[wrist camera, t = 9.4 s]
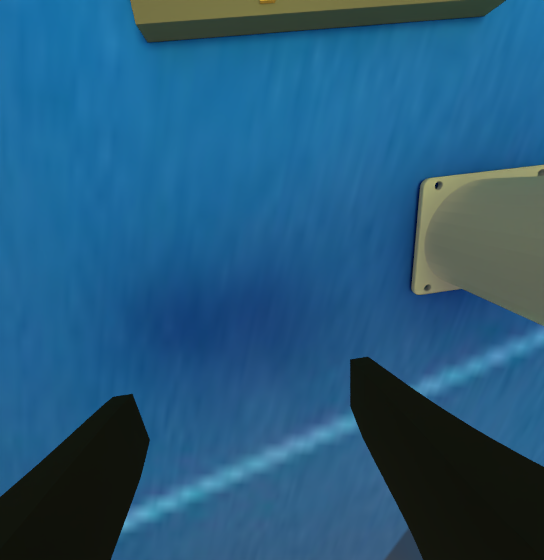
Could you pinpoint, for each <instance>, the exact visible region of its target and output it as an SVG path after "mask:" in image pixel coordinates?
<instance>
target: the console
mask: <svg viewBox="0 0 544 560" xmlns="http://www.w3.org/2000/svg"><path fill="white" fill-rule="evenodd" d="M130 1H131V5H132V10H133V14H134V18H135V23H136V25H137V27H138V28H139V30H140V31H141V33H142V34H143V36H144V38H145V39H146V41H147V42H159V41H172V40H185V39H198V38H211V37H223V36H236V35H249V34H262V33H275V32H287V31H300V30H313V29H326V28H339V27H351V26H364V25H377V24H390V23H403V22H416V21H428V20H441V19H454V18H467V17H480V16H485V15H486V14H488V13H489V12H491V11H492V10H493V9H495V8H496V7H498V6H499V5H500V4H502V3H503V2H504V1H506V0H130Z"/></svg>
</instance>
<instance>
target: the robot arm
mask: <svg viewBox="0 0 544 560" xmlns="http://www.w3.org/2000/svg"><path fill="white" fill-rule="evenodd" d="M538 172H539V174H538ZM437 182H438V188H437V189H435V184H436V183H437ZM426 285H427V287H426V288H425V289H424V287H425V286H426ZM411 289H412V291H413V292H414V293H415V294H417V295H422V294H429V293H436V292H443V291H450V290H457V289H464V290H466V291H468V292H470V293H472V294H475V295H477V296H479V297H481V298H483V299H486V300H488V301H490V302H492V303H494V304H497V305H499V306H501V307H503V308H505V309H507V310H510V311H512V312H514V313H516V314H518V315H521V316H523V317H525V318H527V319H529V320H532V321H534V322H536V323H538V324H540V325H543V326H544V165H538V166H529V167H520V168H512V169H503V170H495V171H486V172H477V173H469V174H460V175H452V176H443V177H435V178H428V179H425V180H424V181H423V182H422V183H421V186H420V195H419V207H418V218H417V229H416V241H415V252H414V264H413V275H412V287H411ZM350 406H351V409H352V411H353V414H354V417H355V419H356V422H357V425H358V427H359V430H360V432H361V435H362V437H363V439H364V441H365V443H366V445H367V447H368V449H369V451H370V453H371V455H372V457H373V459H374V461H375V463H376V465H377V467H378V468H379V470H380V472H381V474H382V476H383V478H384V480H385V482H386V484H387V486H388V488H389V490H390V492H391V494H392V495H393V497H394V499H395V501H396V503H397V505H398V507H399V509H400V511H401V513H402V515H403V517H404V519H405V521H406V523H407V525H408V527H409V529H410V531H411V533H412V535H413V537H414V540H415V542H416V544H417V546H418V549H419V551H420V553H421V556H422V558H423V560H544V467H543V466H541V465H539V464H537V463H535V462H533V461H531V460H530V459H528V458H526V457H524V456H522V455H520V454H519V453H517V452H515V451H513V450H511V449H510V448H508V447H506V446H504V445H502V444H501V443H499V442H497V441H495V440H493V439H492V438H490V437H488V436H486V435H485V434H483V433H481V432H480V431H478V430H476V429H475V428H473V427H471V426H470V425H468V424H466V423H465V422H463V421H462V420H460V419H458V418H457V417H455V416H453V415H452V414H450V413H449V412H447V411H446V410H444V409H442V408H441V407H439V406H438V405H436V404H435V403H433V402H432V401H430V400H429V399H427V398H426V397H424V396H423V395H421V394H420V393H418V392H417V391H415V390H414V389H413V388H411V387H410V386H408V385H407V384H405V383H404V382H403V381H401V380H400V379H398V378H397V377H396V376H394V375H393V374H391V373H390V372H389V371H387V370H386V369H384V368H383V367H382V366H380V365H379V364H378V363H376V362H375V361H373V360H372V359H370V358H369V357H363V358H357V359H350ZM149 441H150V439H149V437H148V434H147V431H146V429H145V426H144V423H143V421H142V418H141V415H140V413H139V410H138V407H137V405H136V402H135V399H134V397H133V394H129V395H122V396H116V397H112V398H111V399H110V400H109V401H108V402H106V403H105V404H104V405H103V406H102V407H101V408H99V409H98V410H97V411H96V412H95V413H94V414H93V415H92V416H91V417H89V418H88V419H87V420H86V421H85V422H84V423H83V424H82V425H81V426H80V427H79V428H77V429H76V430H75V431H74V432H73V433H72V434H71V435H70V436H69V437H68V438H67V439H65V440H64V441H63V442H62V443H61V444H60V445H59V446H58V447H57V448H56V449H54V450H53V451H52V452H51V453H50V454H49V455H48V456H47V457H46V458H44V459H43V460H42V461H41V462H40V463H39V464H38V465H37V466H36V467H34V468H33V469H32V470H31V471H30V472H29V473H27V474H26V475H25V476H24V477H23V478H22V479H21V480H19V481H18V482H17V483H16V484H15V485H14V486H12V487H11V488H10V489H9V490H8V491H7V492H5V493H4V494H3V495H2V496H1V497H0V560H111V557H112V554H113V552H114V549H115V546H116V544H117V541H118V538H119V535H120V533H121V530H122V527H123V525H124V522H125V519H126V516H127V514H128V511H129V508H130V505H131V503H132V500H133V497H134V494H135V492H136V489H137V486H138V483H139V480H140V477H141V474H142V470H143V466H144V462H145V458H146V454H147V450H148V445H149Z"/></svg>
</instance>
